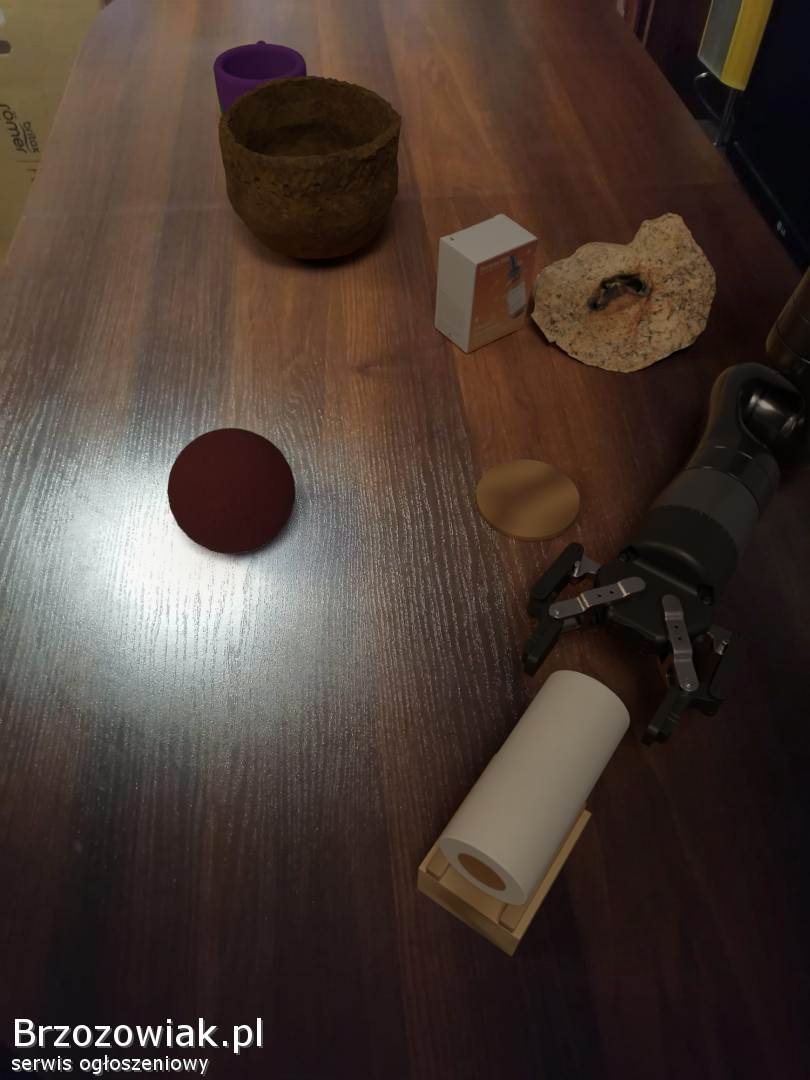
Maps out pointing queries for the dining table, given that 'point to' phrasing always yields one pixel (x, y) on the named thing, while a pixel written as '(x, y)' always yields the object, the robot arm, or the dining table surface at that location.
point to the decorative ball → (231, 490)
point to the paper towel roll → (535, 786)
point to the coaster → (527, 500)
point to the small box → (484, 282)
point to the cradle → (481, 908)
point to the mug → (253, 69)
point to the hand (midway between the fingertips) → (586, 703)
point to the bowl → (311, 164)
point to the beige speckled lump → (627, 297)
